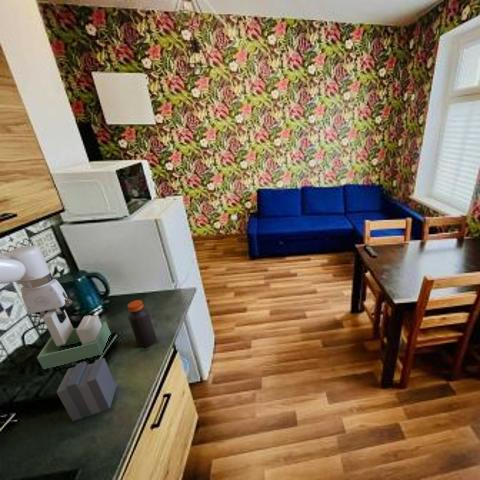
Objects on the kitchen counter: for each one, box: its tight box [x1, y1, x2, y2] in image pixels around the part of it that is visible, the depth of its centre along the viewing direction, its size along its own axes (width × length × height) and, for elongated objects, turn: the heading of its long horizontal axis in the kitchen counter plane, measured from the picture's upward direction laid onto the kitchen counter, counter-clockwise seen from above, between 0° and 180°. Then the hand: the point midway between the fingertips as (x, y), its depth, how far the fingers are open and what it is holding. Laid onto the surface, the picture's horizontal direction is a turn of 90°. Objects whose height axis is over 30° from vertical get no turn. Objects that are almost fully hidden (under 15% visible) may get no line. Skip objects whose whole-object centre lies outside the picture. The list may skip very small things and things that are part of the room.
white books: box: [76, 314, 102, 345], centre depth 107 cm, size 4×9×13 cm, turn 24°
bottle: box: [127, 299, 158, 349], centre depth 109 cm, size 7×7×20 cm
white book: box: [42, 309, 74, 346], centre depth 101 cm, size 2×9×13 cm, turn 24°
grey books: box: [56, 357, 117, 422], centre depth 85 cm, size 10×9×14 cm
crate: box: [36, 321, 112, 370], centre depth 106 cm, size 18×14×8 cm
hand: (57, 321), depth 101 cm, fingers closed on white book, 2 cm apart
